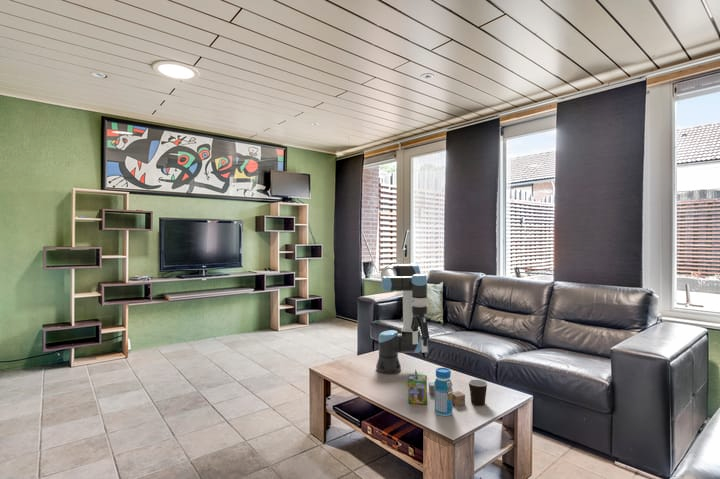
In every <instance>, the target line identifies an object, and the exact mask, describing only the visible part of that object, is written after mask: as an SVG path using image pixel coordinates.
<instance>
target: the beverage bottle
mask: <svg viewBox="0 0 720 479" xmlns="http://www.w3.org/2000/svg"><path fill="white" fill-rule="evenodd" d="M435 377H436V378H435V380H434V382H435V383H434V385H435V387H434V392H435V395H434V413H435V414H437V415H438V416H442V417H448V416H451V415H452V414H453V404H452V392H454V391H453V383H452V380H451V369H449V368H448V367H438V368H436V369H435Z"/></svg>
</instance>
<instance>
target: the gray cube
mask: <svg viewBox="0 0 720 479" xmlns="http://www.w3.org/2000/svg"><path fill="white" fill-rule="evenodd" d="M434 383H435V381H428V393H429V395H430V396H435V392H434V387H435V385H434Z"/></svg>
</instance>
